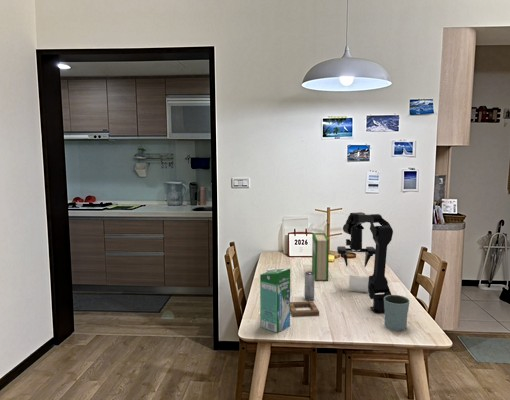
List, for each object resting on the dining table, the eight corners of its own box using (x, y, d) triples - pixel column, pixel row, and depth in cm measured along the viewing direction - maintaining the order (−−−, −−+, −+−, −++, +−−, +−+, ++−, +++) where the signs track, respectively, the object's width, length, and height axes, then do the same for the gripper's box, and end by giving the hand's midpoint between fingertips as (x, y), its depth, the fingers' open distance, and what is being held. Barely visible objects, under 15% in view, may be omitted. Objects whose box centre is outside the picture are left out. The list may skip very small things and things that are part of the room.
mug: (369, 294, 205) (369, 279, 204) (349, 293, 207) (349, 278, 206) (367, 286, 216) (368, 272, 215) (349, 285, 219) (349, 271, 218)
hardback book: (328, 281, 225) (328, 239, 222) (314, 281, 226) (315, 239, 223) (324, 271, 243) (324, 233, 240) (311, 271, 243) (312, 233, 240)
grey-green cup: (402, 321, 172) (403, 294, 171) (412, 331, 162) (413, 303, 161) (379, 321, 172) (380, 294, 171) (387, 332, 162) (388, 303, 161)
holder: (319, 315, 179) (319, 311, 178) (292, 316, 178) (292, 312, 177) (313, 305, 191) (313, 301, 190) (288, 306, 190) (288, 302, 189)
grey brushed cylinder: (315, 300, 196) (315, 274, 195) (305, 301, 196) (305, 274, 194) (313, 297, 201) (313, 271, 199) (303, 297, 201) (303, 271, 199)
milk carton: (273, 320, 174) (273, 264, 171) (290, 325, 169) (290, 268, 166) (260, 327, 167) (259, 269, 164) (277, 333, 162) (277, 273, 159)
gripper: (372, 234, 211) (371, 262, 213) (336, 233, 213) (335, 262, 215) (376, 238, 200) (375, 268, 202) (338, 237, 202) (338, 268, 204)
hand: (355, 266), depth 206 cm, fingers open, 9 cm apart
